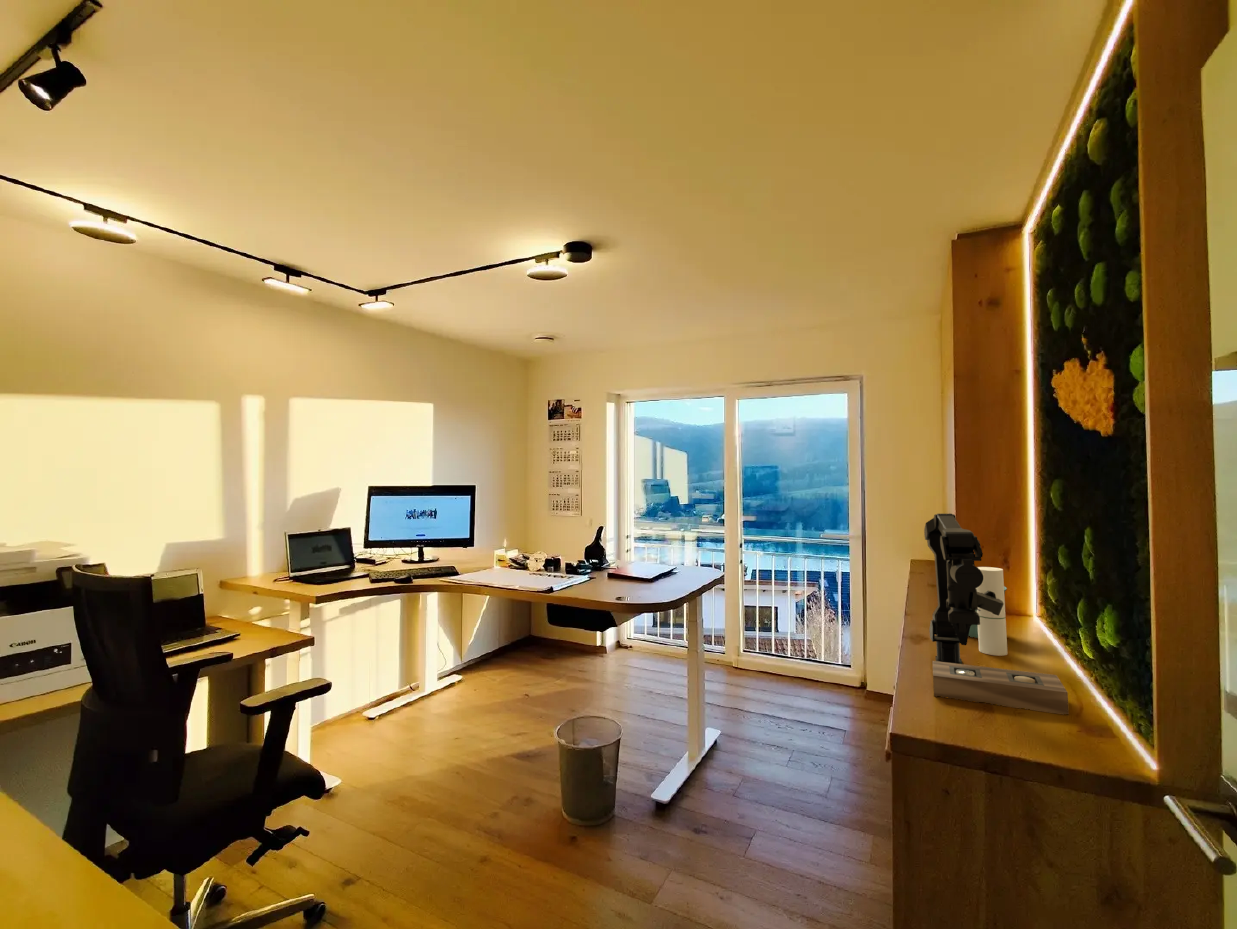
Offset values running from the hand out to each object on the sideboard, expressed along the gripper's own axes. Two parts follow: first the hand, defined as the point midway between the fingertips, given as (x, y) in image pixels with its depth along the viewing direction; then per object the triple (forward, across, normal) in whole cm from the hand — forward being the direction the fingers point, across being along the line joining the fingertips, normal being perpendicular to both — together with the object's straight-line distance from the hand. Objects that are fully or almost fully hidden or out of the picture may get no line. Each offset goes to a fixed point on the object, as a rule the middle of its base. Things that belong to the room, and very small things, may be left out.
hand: (963, 644), depth 137 cm
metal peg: (+12, 0, 0) cm, 12 cm away
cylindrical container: (+12, +39, -9) cm, 42 cm away
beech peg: (+11, 0, -12) cm, 17 cm away
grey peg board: (+12, 0, -6) cm, 13 cm away
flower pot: (+12, +59, -7) cm, 61 cm away
